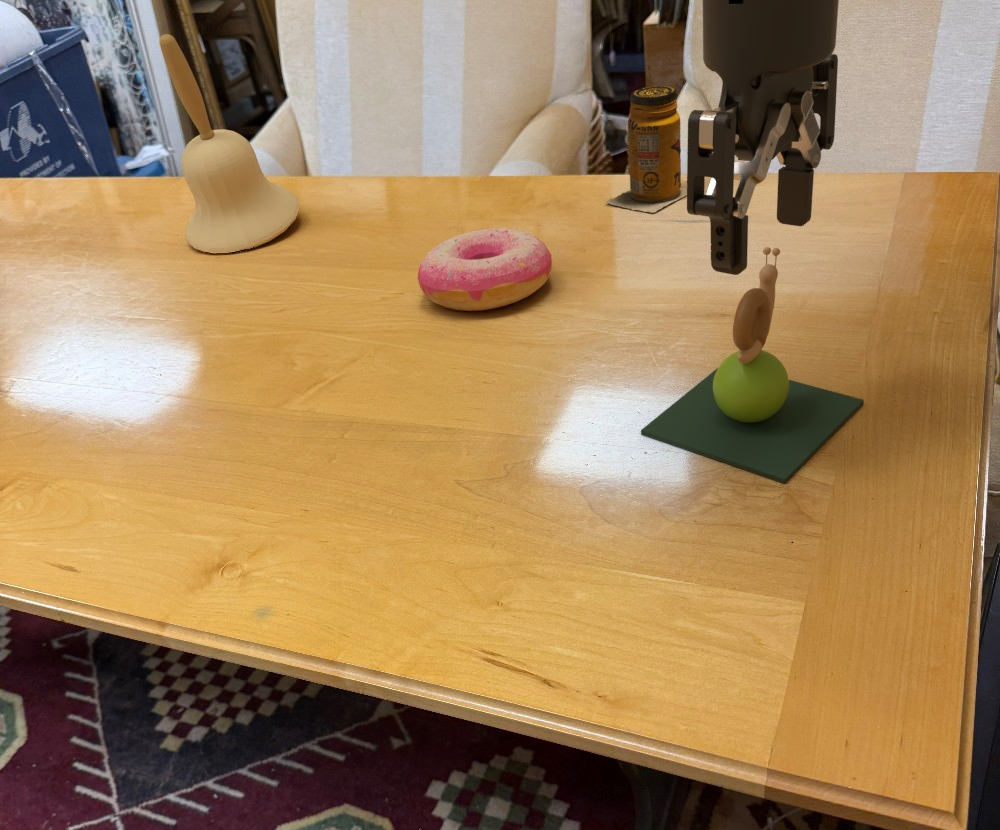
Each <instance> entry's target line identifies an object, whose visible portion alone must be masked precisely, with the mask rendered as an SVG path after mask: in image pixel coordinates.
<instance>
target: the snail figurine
mask: <svg viewBox="0 0 1000 830" xmlns="http://www.w3.org/2000/svg"><path fill="white" fill-rule="evenodd" d="M771 253H772V255H773V256H774V257H775V258H774V264H769V263H768V255H770V254H771ZM762 254H763V255H765V265H764V266H762V267H761V269H760V271H759V273H758V278H759V287H753V288H751V289H749V290H747V291H746V292H745V293H744V294H743V295H742V297H741V298H740V300H739V302H738V304H737V307H736V309H735V314H734V317H733V322H732V323H733V324H732V340H733V344H734V345H735V347H736V348H737V349H738V351H736V352H733V353H731V354H730V355H728V356H727V357H726V358H725V359H724V360H723V361H722V362H721V363H720V365H719V366H718V367H717V368H718V369H717V368H716V369H717V371H716V373H715V376H714V380H713V394H714V398H715V400H716V403H717V405H718V406H719V408H720V409H721V410H722V411H723V412H724V413H725V414H726V415H727V416H729V417H730V418H732V419H734V420H737V421H740V422H745V423H754V422H759V421H763V420H765V419H767V418H769V417H771V416H773V415H774V414H775V413H776V412H777V411H778V410H779V409H780V408H781V407H782V405H783V404H784V402H785V400H786V398H787V395H788V390H789V380H790V379H789V375H788V372H787V369H786V368H785V365H784V364H783V362H782V361H781V360H780V359H779V358H778V357H776V356H775V355H773V354H772V353H770V352H769V351H766V350H763V348H764V346H765V344H766V342H767V340H768V336H769V333H770V329H771V324H772V319H773V313H774V308H775V301H776V285H777V284H776V283H777V280H778V275H779V271H778V268H777V259H778V258H777V257H778V256H779V255H780V254H781V249H780V248H777V247H774V248H773V249H772V250H771V248H770V247H769V246H766V247H764V248H763V250H762Z"/></svg>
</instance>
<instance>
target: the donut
mask: <svg viewBox="0 0 1000 830" xmlns="http://www.w3.org/2000/svg"><path fill="white" fill-rule="evenodd" d="M552 268H553V259H552V253H551V251H550V250H549V248H548V247H547V245H546V243H545V242H544V241H543V240H542V239H540V238H539V237H537V236H536V235H533V234H532V233H530V232H527V231H524V230H520V229H515V228H504V227H503V228H502V227H500V228H499V227H497V228H495V227H494V228H484V229H477V230H473V231H469V232H465V233H461V234H458V235H455V236H453V237H450V238H448V239H446V240H443V241H441V242H440V243H439V244H437V245H435V246H434V247H433V248H432V249H431V250H430V251H429V252H428V253H427V254H426V255H425V256H424V257H423V258H422V260H421V262H420V264H419V267H418V271H417V282H418V286H419V288H420V289H421V292H422V293H423V294H424V295H425V297H427V299H428V300H429V301H431V302H433V303H435V304H436V305H439V306H440V307H444V308H447V309H449V310H454V311H455V310H456V311H465V312H473V311H474V312H475V311H486V310H493V309H497V308H501V307H505V306H509V305H511V304H514V303H517V302H519V301H521V300H523V299H525V298H526V299H527V298H528V297H529V296H531V295H532V294H534V293H535V292H536V291H537V290H539V289H540V288H541V287H543V285H545V283H546V282H547V281H548V279H549V278H550V275H551V272H552Z"/></svg>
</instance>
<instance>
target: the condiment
mask: <svg viewBox="0 0 1000 830" xmlns="http://www.w3.org/2000/svg"><path fill="white" fill-rule="evenodd" d="M677 97H678V93H677V89H675V88H674V87H672V86H669V85H653V86H645V87H641V88H639V89H636V90H633V92H631V94H630V97H629V100H630V107H629V113H630V114H629V118H628V120H627V139H628V159H629V160H628V163H629V164H628V165H629V189H630V190H628V191H625V192H622V193H620V194H619V195H617V196H616V197H613V198H610V199H608V200H607V201H605V202H604V203H605V204H609V205H611V206H615V207H620V208H622V209H623V208H624V209H628V210H629V209H630V210H631V211H634V210H635V211H641V212H644V213H646V212H647V213H651V214H654V213H656V212H657V211H659V210H661V209H663V208H664V207H666V206H669V205H670V204H673V203H674V202H676V201H678V200H681V199H682V198H684V197H687V186H686V187H685V186H683V187H682V170H681V169H682V167H681V164H682V159H681V152H682V149H681V143H682V142H681V115H680V113H679V111H678V110H677V109H678V101H677Z"/></svg>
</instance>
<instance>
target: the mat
mask: <svg viewBox="0 0 1000 830" xmlns="http://www.w3.org/2000/svg"><path fill="white" fill-rule="evenodd" d="M717 369H718V367H717V368H716V369H714V370H713V371H712V372H711V373H709V374H708V375H707V376H706V377H705V378H703V379H702V380H701V381H699V382H698V383H697V384H696V385H694V386H693V387H692V388H691V389H689V390H688V391H687V392H686V393H684V394H683V395H682V396H681V397H680V398H678V399H677V400H676V401H675V402H674V403H672V404H671V405H670V406H669V407H667V408H666V409H665V410H664V411H663V412H661V413H660V414H659V415H658V416H657V417H655V418H654V419H652V421H650V422H649V423H648V424H646V426H644V427H643V428H642V429H640V435H642V436H644V437H648V438H651V439H654V440H658V441H659V442H662V443H665V444H669V445H671V446H674V447H676V448H680V449H683V450H686V451H689V452H692V453H695V454H697V455H700V456H702V457H706V458H709V459H712V460H715V461H717V462H721V463H724V464H727V465H730V466H732V467H736V468H738V469H740V470H744V471H746V472H750V473H753V474H756V475H759V476H761V477H764V478H767V479H771V480H773V481H776V482H779V483H782V484H786V483H787V482H788V481H789V480H790V479H791V478H792V477H793V476H794V475H795V474H796V473H797V472H798V471H799V470H800V469H801V468H802V467H803V466H804V465H805V464H806V463H807V462H808V461H809V460H810V459H811V457H813V456H814V455H815V453H817V452H818V451H819V449H821V448H822V446H823V445H825V444H826V443H827V442H828V440H830V438H832V436H833V435H835V434H836V433H837V432H838V430H840V428H841V427H842V426H843V425H844V424H845V423H847V421H848V420H849V419H850V418H852V416H853V415H854V414H855V413H856V412H857V411H859V409H860V408H861V407H862V406H863V405H864V403H865V400H864V399H863V398H858V397H855V396H853V395H851V396H850V395H847V394H845V393H841V392H837V391H833V390H829V389H825V388H822V387H817V386H814V385H810V384H807V383H803V382H800V381H795V380H791V379H789V390H788V395H787V398H786V400H785V402H784V404H783V405H782V407H781V408H780V409H779V410H778V411H777V412H776V413H775V414H774V415H773V416H771V417H769V418H767V419H765V420H763V421H759V422H754V423H745V422H740V421H737V420H734V419H732V418H730V417H729V416H727V415H726V414H725V413H724V412H723V411H722V410H721V409H720V408H719V406H718V405H717V403H716V400H715V398H714V394H713V380H714V376H715V373H716V371H717Z"/></svg>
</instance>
